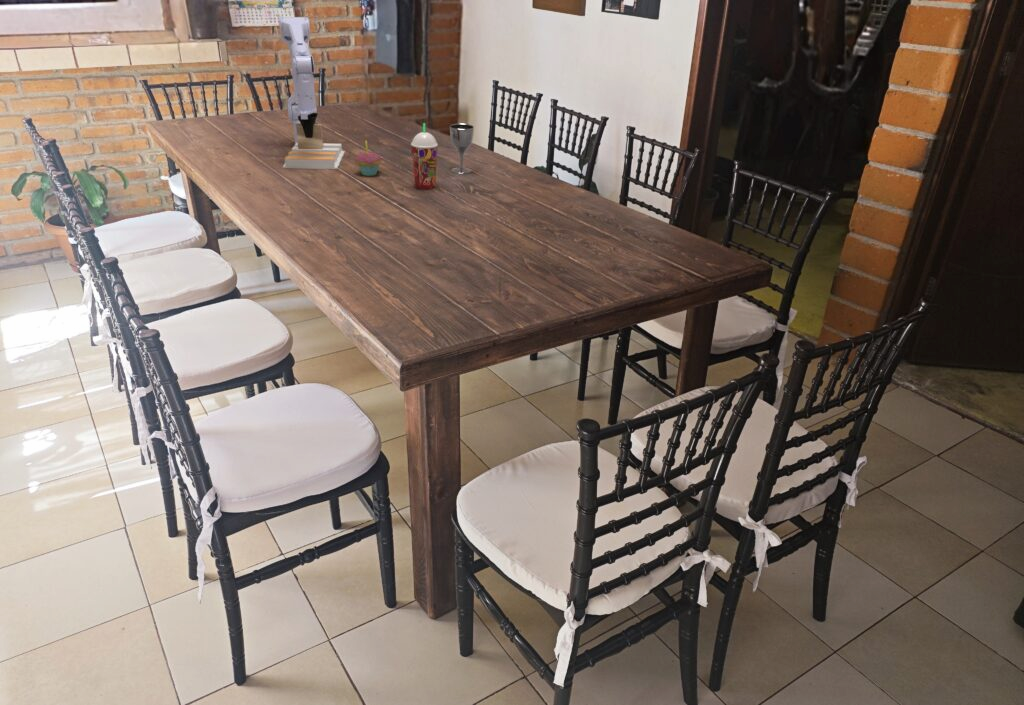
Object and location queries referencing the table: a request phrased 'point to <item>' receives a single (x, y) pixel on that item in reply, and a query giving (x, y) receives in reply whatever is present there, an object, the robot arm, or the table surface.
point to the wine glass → (461, 142)
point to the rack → (315, 157)
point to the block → (313, 142)
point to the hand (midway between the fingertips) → (309, 136)
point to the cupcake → (368, 162)
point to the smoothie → (424, 159)
